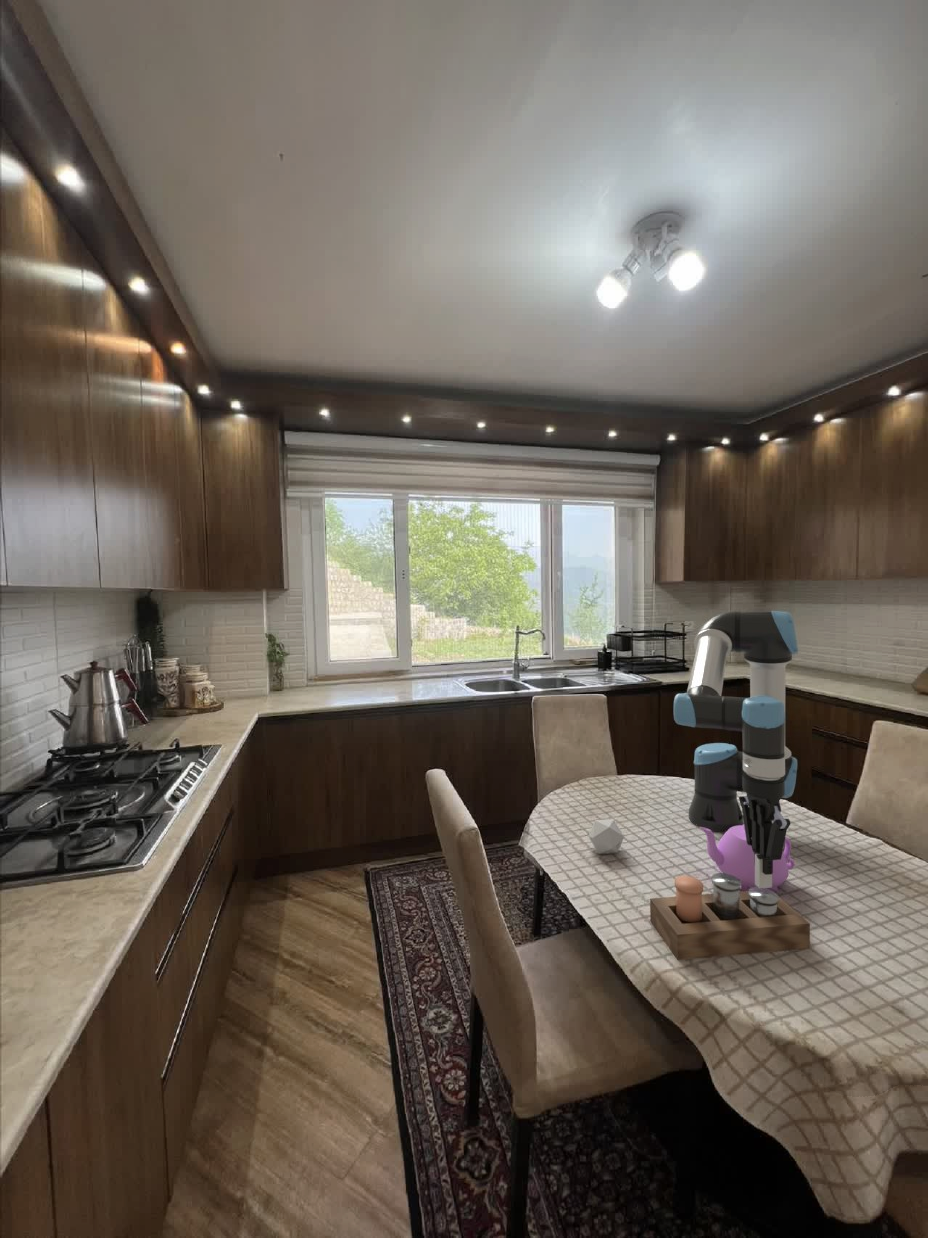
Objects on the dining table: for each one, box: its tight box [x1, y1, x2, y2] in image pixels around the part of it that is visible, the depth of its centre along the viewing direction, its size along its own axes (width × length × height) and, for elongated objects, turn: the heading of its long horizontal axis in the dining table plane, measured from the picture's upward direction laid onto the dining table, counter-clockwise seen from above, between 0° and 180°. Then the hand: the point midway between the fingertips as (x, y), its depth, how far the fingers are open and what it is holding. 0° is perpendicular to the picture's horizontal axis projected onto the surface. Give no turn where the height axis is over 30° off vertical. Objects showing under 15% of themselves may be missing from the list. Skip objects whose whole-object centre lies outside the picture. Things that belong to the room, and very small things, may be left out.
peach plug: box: [674, 875, 704, 923], centre depth 107 cm, size 5×5×7 cm
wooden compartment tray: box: [649, 889, 811, 961], centre depth 108 cm, size 27×12×5 cm, turn 95°
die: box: [588, 819, 625, 855], centre depth 143 cm, size 8×9×10 cm
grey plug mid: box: [711, 872, 741, 920], centre depth 107 cm, size 5×5×7 cm
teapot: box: [699, 824, 795, 893], centre depth 127 cm, size 22×16×14 cm
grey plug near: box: [749, 887, 780, 917], centre depth 108 cm, size 5×5×7 cm
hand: (763, 885), depth 108 cm, fingers closed
